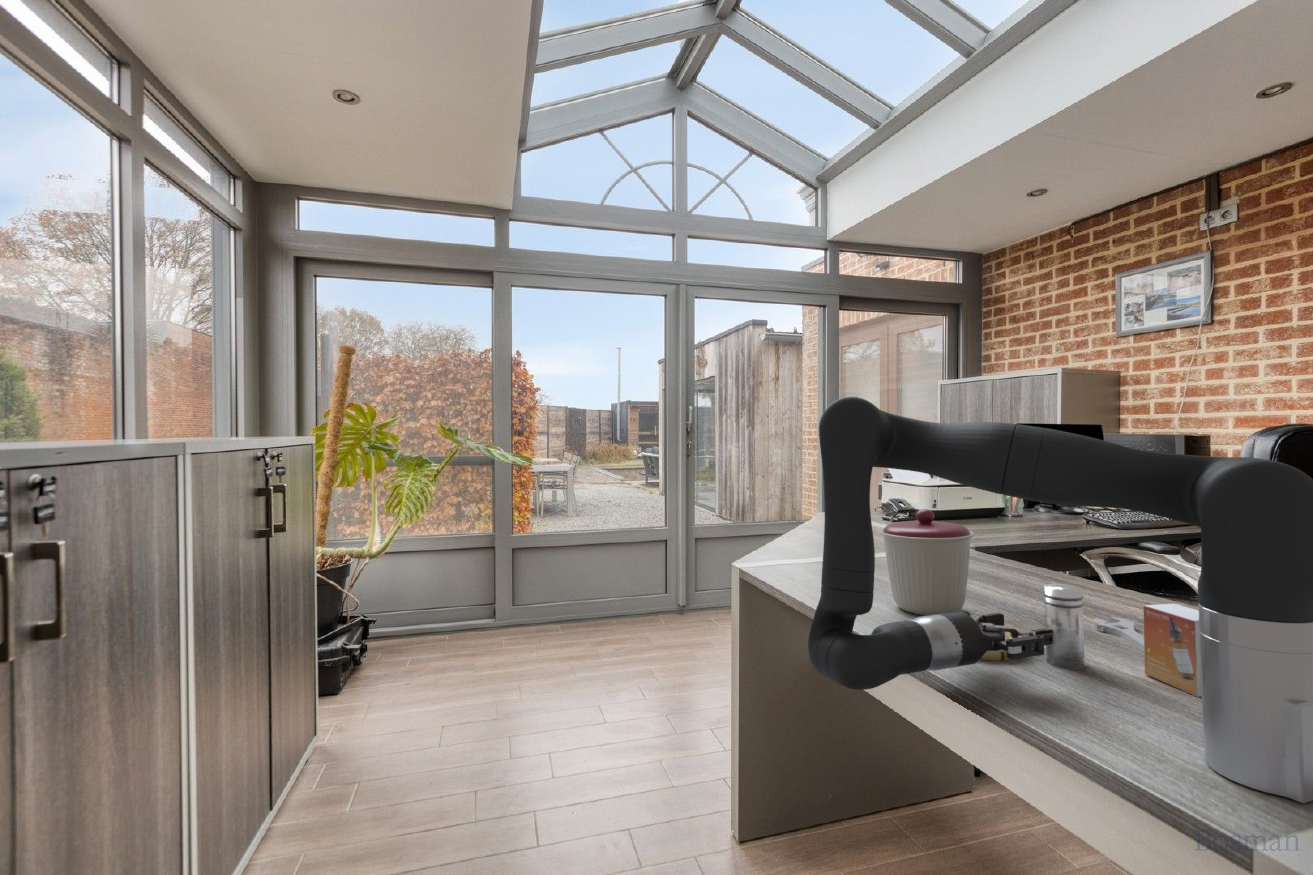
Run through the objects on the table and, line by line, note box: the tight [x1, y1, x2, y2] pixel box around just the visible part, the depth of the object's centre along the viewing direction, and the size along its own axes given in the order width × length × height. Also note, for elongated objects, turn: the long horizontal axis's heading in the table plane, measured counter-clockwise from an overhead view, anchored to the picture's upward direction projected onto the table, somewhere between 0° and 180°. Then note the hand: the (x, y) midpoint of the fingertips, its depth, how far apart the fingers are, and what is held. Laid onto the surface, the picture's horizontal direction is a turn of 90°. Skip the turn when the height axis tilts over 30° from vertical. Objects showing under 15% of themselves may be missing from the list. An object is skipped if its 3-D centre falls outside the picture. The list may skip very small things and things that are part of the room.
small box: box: [1142, 603, 1202, 698], centre depth 85 cm, size 8×6×10 cm
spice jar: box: [1043, 583, 1086, 670], centre depth 95 cm, size 5×5×12 cm
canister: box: [879, 508, 975, 616], centre depth 126 cm, size 18×18×21 cm
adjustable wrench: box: [1093, 616, 1144, 652], centre depth 101 cm, size 25×6×2 cm, turn 161°
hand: (1025, 627), depth 92 cm, fingers open, 8 cm apart
